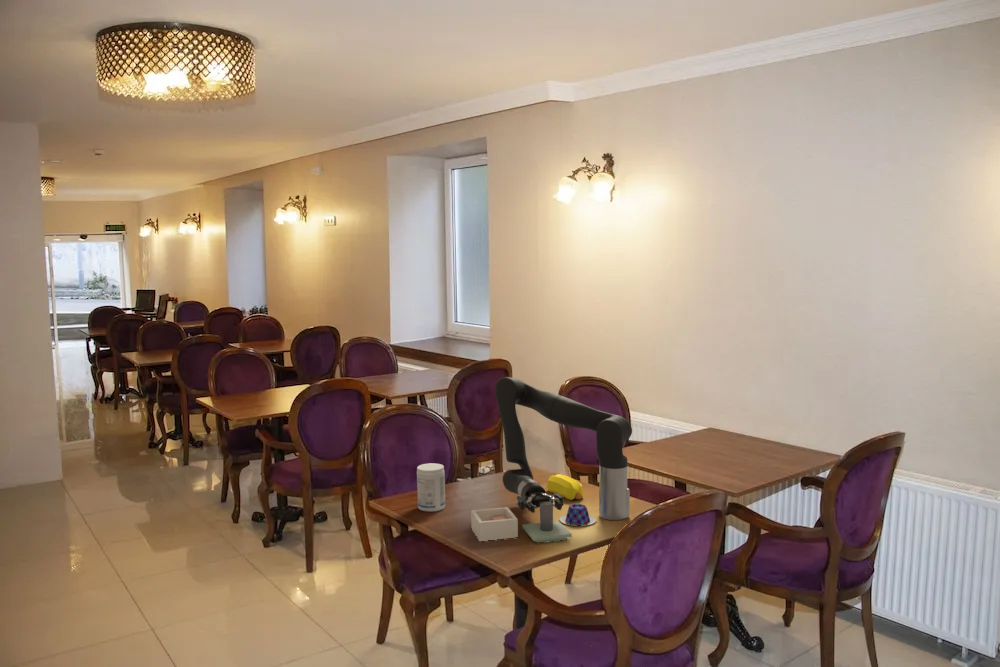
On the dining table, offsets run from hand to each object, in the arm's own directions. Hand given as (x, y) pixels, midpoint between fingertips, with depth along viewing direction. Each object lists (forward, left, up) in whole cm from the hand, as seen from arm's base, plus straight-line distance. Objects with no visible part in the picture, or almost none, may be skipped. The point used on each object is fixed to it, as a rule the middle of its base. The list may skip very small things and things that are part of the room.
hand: (546, 508), depth 236 cm
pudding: (-14, -11, -10) cm, 20 cm away
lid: (0, 0, -9) cm, 9 cm away
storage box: (+15, -7, -9) cm, 19 cm away
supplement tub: (+30, -37, -9) cm, 49 cm away
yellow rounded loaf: (-19, -39, -9) cm, 44 cm away
